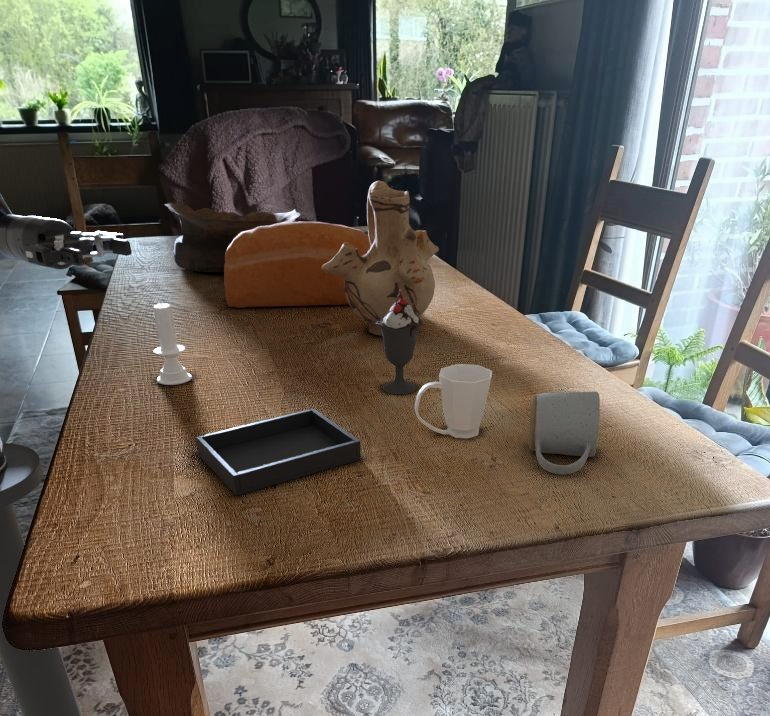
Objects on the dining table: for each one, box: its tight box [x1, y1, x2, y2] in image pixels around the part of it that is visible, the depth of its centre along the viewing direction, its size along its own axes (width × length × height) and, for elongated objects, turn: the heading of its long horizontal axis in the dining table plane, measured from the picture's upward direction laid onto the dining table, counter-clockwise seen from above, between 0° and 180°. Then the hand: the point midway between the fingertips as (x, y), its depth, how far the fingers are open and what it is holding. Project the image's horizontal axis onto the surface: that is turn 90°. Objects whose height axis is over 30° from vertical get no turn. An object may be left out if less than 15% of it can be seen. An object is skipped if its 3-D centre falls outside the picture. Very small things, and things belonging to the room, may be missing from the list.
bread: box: [223, 221, 371, 309], centre depth 148 cm, size 14×33×16 cm, turn 94°
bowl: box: [164, 202, 301, 273], centre depth 179 cm, size 34×33×15 cm
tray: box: [195, 408, 362, 497], centre depth 86 cm, size 16×12×2 cm
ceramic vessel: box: [322, 180, 440, 337], centre depth 126 cm, size 18×19×25 cm
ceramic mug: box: [527, 391, 601, 476], centre depth 84 cm, size 11×8×8 cm
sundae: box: [376, 290, 424, 395], centre depth 102 cm, size 7×7×15 cm
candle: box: [153, 301, 193, 386], centre depth 108 cm, size 5×5×12 cm
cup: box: [414, 363, 493, 439], centre depth 90 cm, size 7×10×8 cm
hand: (105, 253), depth 107 cm, fingers open, 8 cm apart
